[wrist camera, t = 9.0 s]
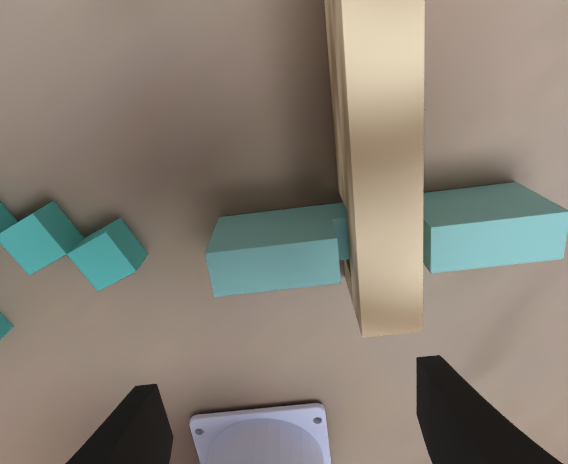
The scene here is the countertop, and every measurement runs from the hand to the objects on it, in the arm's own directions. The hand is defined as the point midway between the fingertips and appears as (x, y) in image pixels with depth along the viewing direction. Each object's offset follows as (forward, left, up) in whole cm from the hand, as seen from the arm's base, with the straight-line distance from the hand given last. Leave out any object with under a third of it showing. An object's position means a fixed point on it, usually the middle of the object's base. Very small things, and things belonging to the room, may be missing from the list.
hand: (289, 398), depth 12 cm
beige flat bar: (+5, -4, -10) cm, 12 cm away
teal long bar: (+1, -4, -10) cm, 11 cm away
